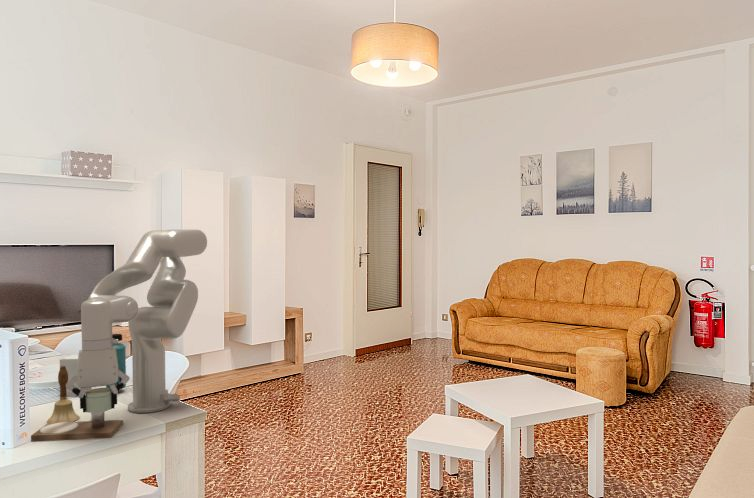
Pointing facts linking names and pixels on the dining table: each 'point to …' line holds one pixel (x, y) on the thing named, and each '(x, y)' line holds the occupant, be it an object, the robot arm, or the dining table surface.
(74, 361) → the supplement box
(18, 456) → the dining table surface
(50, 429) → the board
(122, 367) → the beverage bottle
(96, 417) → the post
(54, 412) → the hand bell
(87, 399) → the cap
